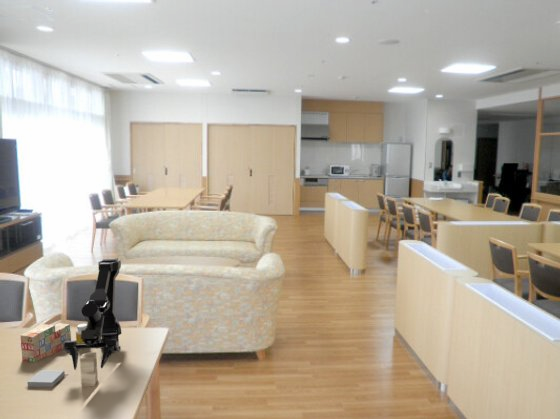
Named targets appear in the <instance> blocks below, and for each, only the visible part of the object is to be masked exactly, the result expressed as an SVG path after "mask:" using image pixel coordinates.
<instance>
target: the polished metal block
mask: <svg viewBox="0 0 560 419" xmlns="http://www.w3.org/2000/svg"><path fill="white" fill-rule="evenodd" d="M97 361H98V360H97V352H96V351H95V352H93V351H92V352H83V353H82V354H81V356H80V358H79V365H80V379H81V380H80V382H81V383H80V384H81V387H82V388H83V387H85V388H86V387H94V386H96V384H97V382H98V362H97Z"/></svg>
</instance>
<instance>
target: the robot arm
mask: <svg viewBox="0 0 560 419" xmlns="http://www.w3.org/2000/svg"><path fill="white" fill-rule="evenodd" d="M97 264H98V274H97V278H96V284H95V289H94V292H92V293H91V294H90V297H89V299H88V301H87V302H86V304H84V305H83V307H82V308H81V315H82V316H83V318H84V320H85V321H86V322H87V323H86V324H87V328H86V329H85V330H82V331H81V339H82V341H83V342H84V343H83V344H78V343H77V342H76V340H71V341H66V342H65V343H64V346H63V350H64V351H65V352H66V353H67V354H69V355H70V356H71V358H72V365H73V369H74V371H76V370H77V367H78V361H79V350H84V349H86V350H87V349H89V350H90V349H102V350H103V353H102V354H103V355H102V357H101V361H100V369H103V368H104V366H105V365H106V363H107V361H108V359H109V358H110V356H111V355H112V354H115V352H118V351H119V349H121V346H120V343H119V342H120V341H119V340H120V339H119V336H120V335H122V326H121V325H120V322H119V317H117V315H116V313H115V304H116V303H115V296H116V278H117V277H118V275H119V274H120V269H121V267H122V261H121V260H119V258H118V257H117V258H116V257H114V258H113V257H111V258H110V257H108V258H105V257H103V258H102V260H100V261H98V263H97Z"/></svg>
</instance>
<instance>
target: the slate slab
mask: <svg viewBox="0 0 560 419" xmlns="http://www.w3.org/2000/svg"><path fill="white" fill-rule="evenodd" d="M64 376H65V370H59V369H58V370H57V369H55V370H54V369H53V370H52V369H50V370H49V369H43V370H42V369H41V370H40V371H38V372H37V373H36V374H35V375H33V376H32V377H31V379H29V380H28V381H27V386H28V387H46V388H52V387H53V386H54V385H56V384H57V383H58V382H59V381H60V380H61V379H62V378H63V377H64Z"/></svg>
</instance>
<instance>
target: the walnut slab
mask: <svg viewBox="0 0 560 419" xmlns="http://www.w3.org/2000/svg"><path fill="white" fill-rule="evenodd" d="M68 376H70V373H68V374H67V373H66V374H65V376H64V377H63V378H62V379H61V380H60V381H59V382H58V383H57V384H56V385H54V386H53V387H52V388H46V387H28V385H26V386H25V387H24V389H31V390H33V389H35V390H37V389H39V390H46V389H47V390H55V389H56V388H57V387H58V386H59V385H60V384H61V383H62V382H63V381H64V380H65V379H66V378H67V377H68Z"/></svg>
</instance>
